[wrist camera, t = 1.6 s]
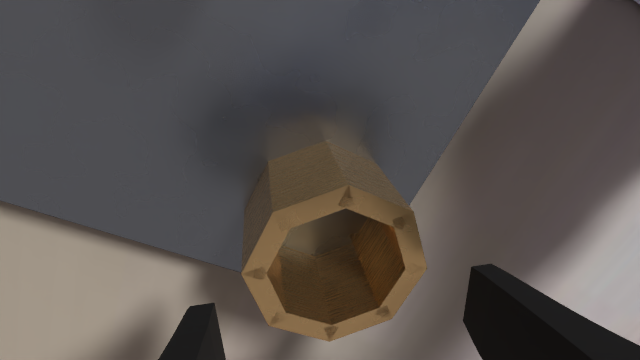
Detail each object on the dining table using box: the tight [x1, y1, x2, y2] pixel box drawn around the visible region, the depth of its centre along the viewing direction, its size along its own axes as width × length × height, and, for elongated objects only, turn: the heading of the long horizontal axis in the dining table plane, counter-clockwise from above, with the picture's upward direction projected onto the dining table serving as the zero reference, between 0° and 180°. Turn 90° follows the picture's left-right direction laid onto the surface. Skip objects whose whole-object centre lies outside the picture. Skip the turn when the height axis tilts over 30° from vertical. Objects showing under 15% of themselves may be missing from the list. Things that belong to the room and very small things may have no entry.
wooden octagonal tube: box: [241, 141, 427, 342], centre depth 14 cm, size 6×6×4 cm
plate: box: [0, 0, 540, 272], centre depth 11 cm, size 17×18×6 cm
